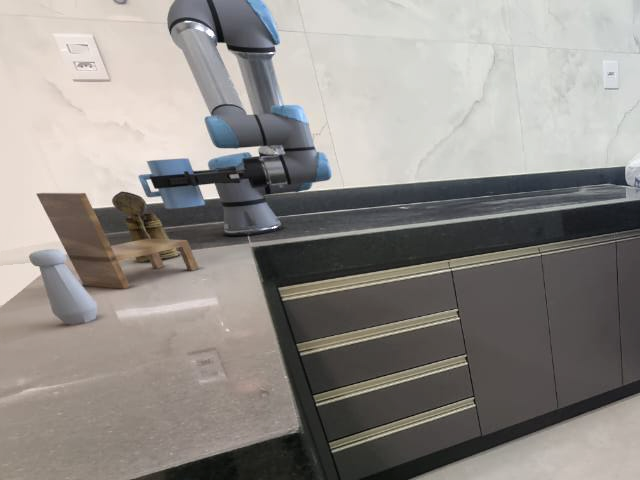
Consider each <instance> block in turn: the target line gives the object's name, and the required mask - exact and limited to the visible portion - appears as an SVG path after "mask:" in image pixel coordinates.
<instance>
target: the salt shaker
mask: <svg viewBox="0 0 640 480" xmlns="http://www.w3.org/2000/svg"><path fill="white" fill-rule="evenodd" d="M28 259H29V261H30V263H31V264H32V265H33V266H34V267H38V268H39V271H40V275H41V278H42V281H43V285H44V288H45V291H46V294H47V298H48V301H49V305H50V308H51V311H52V313H53V315H54V316H55V317H56V318H58V319H59V320H60V321H62V322H63V323H64V324H65V325H71V326H74V325H79V324H86V323H89V322H91V321H94V320H97V314H98V308H99V305H98V303H97V301H96V300H95V299H94V298H93V297H92V295H90V294H89V292H88V291H87V290H86V289H85V287H84V285H83V284H81V282H80V281H78V279H77V278H76V276H75V275H74V274H73V273H72V272H71V271H70V269H69V268H68V267H67V266H66V264H65V262H67V261H68V258H67V256H66V254H65V252H64V251H63V250H60V249H58V248H47V249H41V250H37V251H33V252H31V253H30V254H29V255H28Z"/></svg>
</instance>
